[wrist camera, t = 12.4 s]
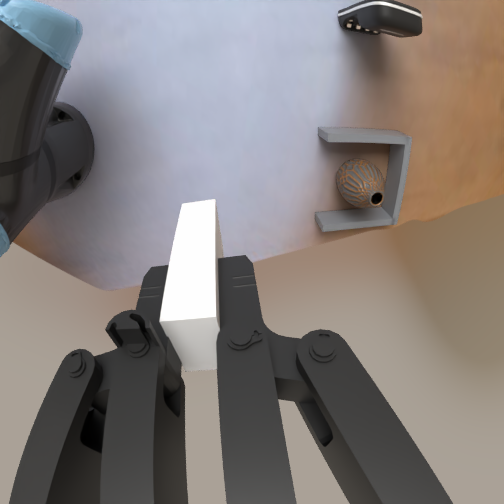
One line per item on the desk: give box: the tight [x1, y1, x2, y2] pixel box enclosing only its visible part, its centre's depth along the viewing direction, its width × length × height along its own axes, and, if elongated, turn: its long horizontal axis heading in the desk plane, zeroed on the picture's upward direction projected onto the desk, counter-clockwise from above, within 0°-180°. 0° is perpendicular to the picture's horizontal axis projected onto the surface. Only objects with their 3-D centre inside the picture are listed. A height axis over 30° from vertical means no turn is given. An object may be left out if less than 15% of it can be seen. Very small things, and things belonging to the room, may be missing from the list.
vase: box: [337, 159, 385, 208], centre depth 36 cm, size 7×7×9 cm
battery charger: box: [338, 0, 422, 38], centre depth 21 cm, size 7×4×11 cm, turn 94°
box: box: [315, 127, 412, 232], centre depth 38 cm, size 14×15×4 cm
